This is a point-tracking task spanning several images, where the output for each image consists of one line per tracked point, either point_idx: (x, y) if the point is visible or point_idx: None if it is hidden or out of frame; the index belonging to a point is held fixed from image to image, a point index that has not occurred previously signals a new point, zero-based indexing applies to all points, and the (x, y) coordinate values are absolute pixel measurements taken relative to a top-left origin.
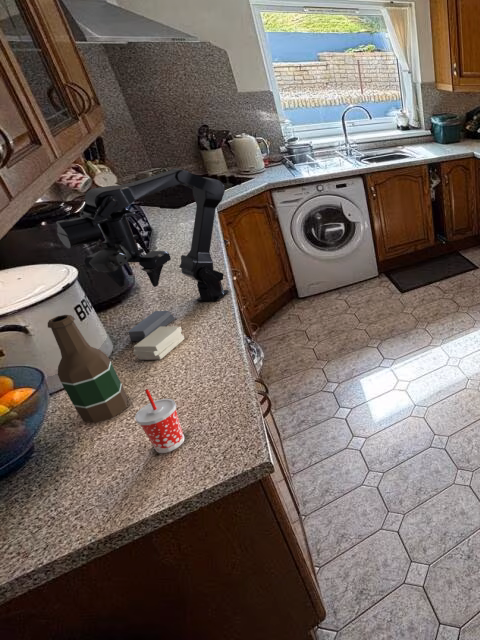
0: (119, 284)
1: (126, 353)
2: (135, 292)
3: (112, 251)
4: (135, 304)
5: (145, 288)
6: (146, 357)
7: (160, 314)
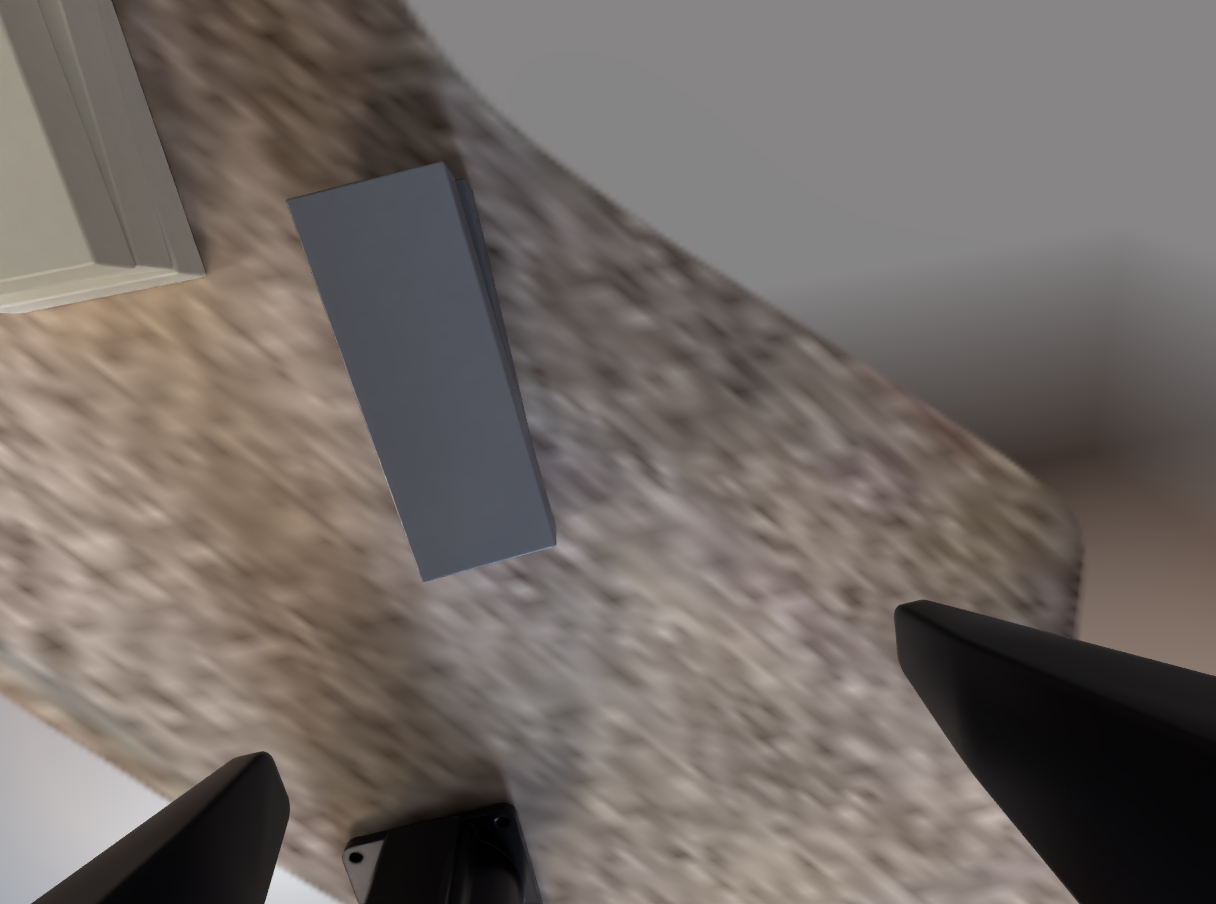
0: (939, 621)
1: (317, 7)
2: None
3: None
4: None
5: None
6: None
7: (436, 504)
